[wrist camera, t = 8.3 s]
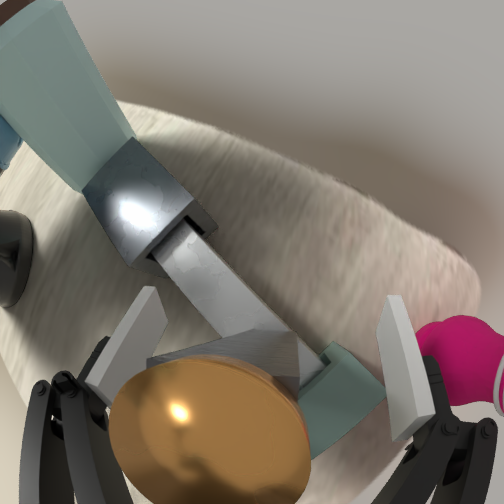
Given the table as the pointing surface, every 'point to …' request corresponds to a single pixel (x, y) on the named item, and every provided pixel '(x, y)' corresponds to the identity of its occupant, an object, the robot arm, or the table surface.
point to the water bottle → (56, 91)
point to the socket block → (338, 398)
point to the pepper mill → (466, 359)
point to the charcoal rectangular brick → (141, 205)
